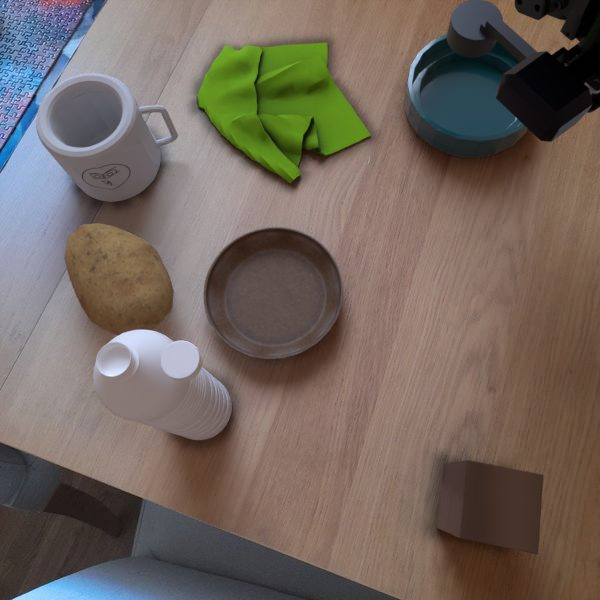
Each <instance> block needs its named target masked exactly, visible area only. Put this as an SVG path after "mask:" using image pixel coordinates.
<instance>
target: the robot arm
mask: <svg viewBox="0 0 600 600" xmlns="http://www.w3.org/2000/svg"><path fill="white" fill-rule="evenodd" d="M514 8H515V10H516V11H517V13H519V14H521V15H524V16H526V17H527V18H530V19H533V20H536V21H540V20H542V19H543V18H545V17H546V16H549V17H552V18H554V19H557V20H561V21H564V23H563V25H562V26H561V28H560V31H559V32H560V33H561V34H562V35H563V36H564V37H565V38H567V39H568V40H569V41H570V42H572V41H574V40H577V41H578V43H575V45H574V46H572V47H571V48H569V49H567V48H566V47H565V46H562V47H561V48H559V49H558V50H556V51H555V52H554V53H550V52H549V51H548V50H546V51H544V50H543V51H537V52H534V53H533V54H531V55H530V56H529V57H527V58H526V59H524V60H523V61H521V62H520V63H518V64H517V65H516V66H514V67H513V68H511V69H510V70H508V71H507V72H506V73H504V74H503V75H502V77H501V80H500V82H499V85H498V87H497V89H496V99H497V100H498V101H499V102H500V103H501V104H502V105H503V106H505V107H506V108H507V109H508V110H509V111H510V112H511V113H512V114H513V115H514V116H515V117H516V118H517V119H518V120H519V121H520V122H521V123H522V124H523V125H524V126H526V127H527V128H528V130H529V132H530V133H532V135H534V136H535V137H536V138H537V139H538V140H539V141H540V142H548V143H552V142H553V141H555V140H556V139H557V138H559V137H560V136H561V135H563V134H565V132H567V131H568V130H570V129H571V128H572V127H574V126H575V125H576V124H577V123H579V121H580V120H582V118H583V117H585V116H586V114H591V113H594V112H595V111H596V110H598V109H599V108H600V0H514Z"/></svg>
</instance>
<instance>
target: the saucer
mask: <svg viewBox="0 0 600 600" xmlns="http://www.w3.org/2000/svg"><path fill="white" fill-rule="evenodd" d="M343 299H344V284H343V278H342V274H341V271H340V267H339V265H338V264H337V262H336V259H335V258H334V257H333V255H332V254H331V252H330V251H329V250H328V248H327V247H325V245H324V244H323V243H322V242H321V241H320V240H318V239H316V238H315V237H313V236H311V235H310V234H308V233H305V232H303V231H300V230H297V229H294V228H290V227H282V226H270V227H262V228H258V229H254V230H251V231H249V232H246V233H244V234H241V235H240V236H237V237H236V238H235V239H233V240H232V241H230V242H229V243H228V244H227V245H226V246H224V248H223V249H222V250H220V251H219V252H218V254H217V256H215V258H214V260H213V262H212V263H211V265H210V267H209V269H208V271H207V274H206V277H205V281H204V286H203V303H204V304H203V305H204V310H205V314H206V317H207V320H208V321H209V324H210V326H211V328H212V329H213V331H214V332H215V333H216V335H217V336H218V337H219V338H220V339H221V340H222V341H223V342H224V343H225V344H226V345H228V346H229V347H230V348H231V349H233V350H235V351H237V352H238V353H240V354H244V356H245V355H246V356H249V357H252V358H256V359H261V360H277V359H286V358H291V357H294V356H296V355H299V354H301V353H304V352H306V351H307V350H310V349H311V348H313V347H314V346H315V345H316V344H318V343H320V341H322V339H324V338H325V336H326V335H328V333H329V332H330V330H331V329H332V328H333V326H334V324H335V323H336V321H337V319H338V317H339V314H340V312H341V309H342V304H343Z"/></svg>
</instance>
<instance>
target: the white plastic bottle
mask: <svg viewBox="0 0 600 600" xmlns="http://www.w3.org/2000/svg"><path fill="white" fill-rule="evenodd" d="M203 363H204V359H203V354H202V352H201V351H200V349H199V348H198V347H197V346H196V345H195V344H194V343H192V342H190V341H187V340H183V339H181V340H175V341H174V340H172V339H171V338H169V337H168V336H167V335H165V334H163V333H161V332H158V331H156V330H152V329H150V330H133V331H128V332H125V333H122V334H120V335H116V336H115V337H114V338H112V339H111V340H110V341H109V342H107V343H106V344H105V345H103V346H102V347H101V348H100V349H99V351H98V352H97V354H96V357H95V363H94V367H93V371H92V373H93V375H92V376H93V377H92V382H93V386H94V390H95V393H96V396H97V398H98V400H99V401H100V402H101V404H102V405H103V406H104V408H105V409H106V410H108V411H109V412H110V413H111V414H113V415H114V416H117V417H118V418H121V419H123V420H126V421H131V422H134V423H138V424H142V425H144V426H147V427H151V428H154V429H157V430H159V431H162V432H166V433H170V434H173V435H176V436H179V437H183V438H186V439H190V440H193V441H205V440H209V439H211V438H213V437H215V436H217V435H218V434H220V433H221V432H222V431H223V430H224V429H225V428H226V427H227V425H228V423H229V421H230V418H231V416H232V411H233V404H232V403H233V402H232V398H231V395H230V392H229V391H228V389H227V388H226V386H225V385H224V384H223V383H222V382H220V381H219V380H218V379H217V378H216V377H214V375H213V374H211V373H210V372H209V371H208V370H206V369H205V368H204V366H203Z"/></svg>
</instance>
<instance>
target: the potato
mask: <svg viewBox="0 0 600 600" xmlns="http://www.w3.org/2000/svg"><path fill="white" fill-rule="evenodd" d="M64 251H65V252H64V262H65V263H64V264H65V266H66V270H67V274H68V278H69V281H70V284H71V287H72V288H73V291H74V294H75V297H76V298H77V300H78V302H79V305H80V307H81V309H82V310H83V312H84V313H85V314H86V316H87V318H88V319H89V321H90V322H91V323H93V324H94V325H96V326H98V328H100V329H102V330H103V331H106V332H109V333H111V334H113V335H116V336H118V335H120V334H122V333H125V332H128V331H133V330H152V329H154V328H156V327H159V326H160V325H161V323H162V322H163V321H164V320H165V318H166V317H167V316H168V315H169V313H170V311H172V309H173V301H174V294H175V293H174V292H175V291H174V286H173V284H172V279H171V277H170V274H169V272H168V270H167V267H166V266H165V264H164V262H163V259H162V257H161V256H160V254H159V252H158V251H157V250H156V248H155V247H153V245H151V243H149V242H148V240H146V239H144V237H141V236H138V235H136V234H134V233H131V232H129V231H127V230H125V229H122V228H120V227H117V226H115V225H111V224H106V223H102V222H95V223H84V224H80V225H79V227H77V228H76V229H75V230H74V231H72V233H70V234H69V235H68V236H67V237H66V243H65V249H64Z"/></svg>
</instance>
